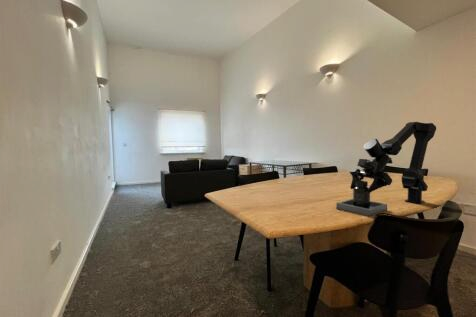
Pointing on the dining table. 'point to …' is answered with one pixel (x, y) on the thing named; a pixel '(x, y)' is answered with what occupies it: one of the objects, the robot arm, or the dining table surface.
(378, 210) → the slate tray
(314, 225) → the dining table surface
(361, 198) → the supplement bottle
